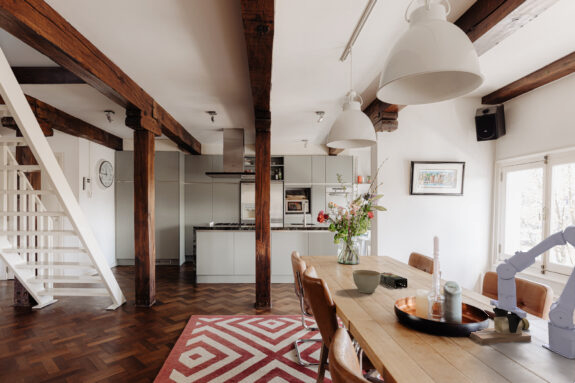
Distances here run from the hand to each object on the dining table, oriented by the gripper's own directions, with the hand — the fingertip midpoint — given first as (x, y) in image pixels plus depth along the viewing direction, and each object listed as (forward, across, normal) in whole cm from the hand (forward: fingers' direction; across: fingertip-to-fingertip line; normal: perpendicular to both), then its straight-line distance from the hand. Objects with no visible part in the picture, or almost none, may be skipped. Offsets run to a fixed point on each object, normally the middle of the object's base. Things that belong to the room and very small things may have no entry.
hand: (507, 330), depth 116 cm
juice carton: (+3, -79, -8) cm, 80 cm away
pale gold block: (+1, 0, 0) cm, 1 cm away
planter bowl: (+3, -66, -30) cm, 73 cm away
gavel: (+3, -16, +10) cm, 19 cm away
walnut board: (+3, 0, -4) cm, 5 cm away
